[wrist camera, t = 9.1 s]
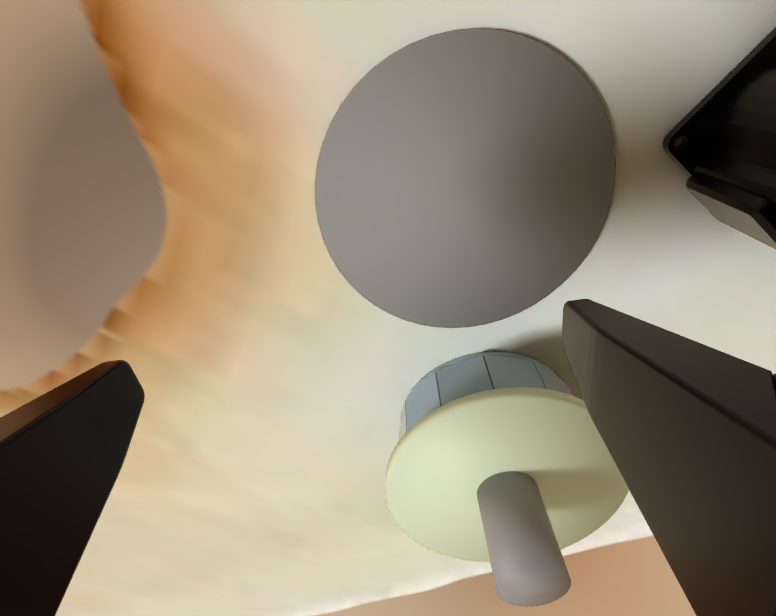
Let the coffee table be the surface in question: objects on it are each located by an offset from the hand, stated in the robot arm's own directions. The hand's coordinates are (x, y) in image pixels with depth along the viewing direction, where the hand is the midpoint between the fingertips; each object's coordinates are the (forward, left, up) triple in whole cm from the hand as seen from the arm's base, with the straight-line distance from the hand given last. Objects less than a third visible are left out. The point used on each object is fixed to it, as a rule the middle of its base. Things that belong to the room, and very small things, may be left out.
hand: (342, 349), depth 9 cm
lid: (+7, +14, -8) cm, 17 cm away
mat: (-2, +4, -12) cm, 13 cm away
